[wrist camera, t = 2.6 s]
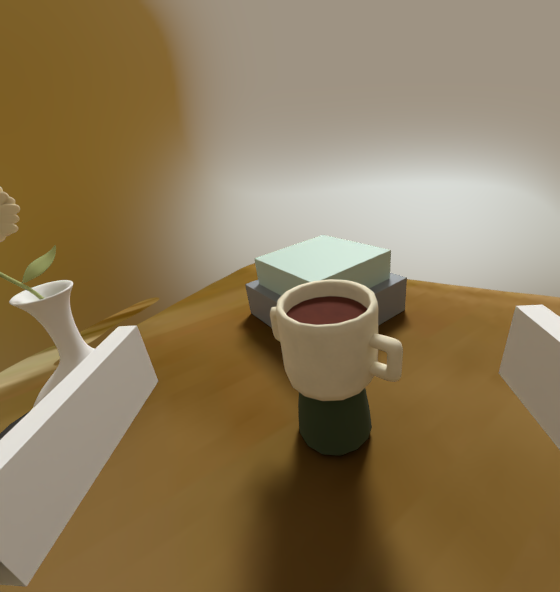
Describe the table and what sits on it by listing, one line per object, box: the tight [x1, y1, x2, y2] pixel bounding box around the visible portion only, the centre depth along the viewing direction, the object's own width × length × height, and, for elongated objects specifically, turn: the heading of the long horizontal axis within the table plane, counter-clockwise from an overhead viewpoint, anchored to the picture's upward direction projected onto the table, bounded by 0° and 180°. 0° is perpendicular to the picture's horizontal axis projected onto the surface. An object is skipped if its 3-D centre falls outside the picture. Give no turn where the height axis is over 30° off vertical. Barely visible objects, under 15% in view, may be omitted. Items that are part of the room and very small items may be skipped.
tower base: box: [245, 235, 407, 328], centre depth 43 cm, size 16×16×9 cm
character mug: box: [270, 279, 403, 455], centre depth 24 cm, size 11×7×13 cm, turn 51°
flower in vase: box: [0, 187, 95, 408], centre depth 29 cm, size 13×11×25 cm
